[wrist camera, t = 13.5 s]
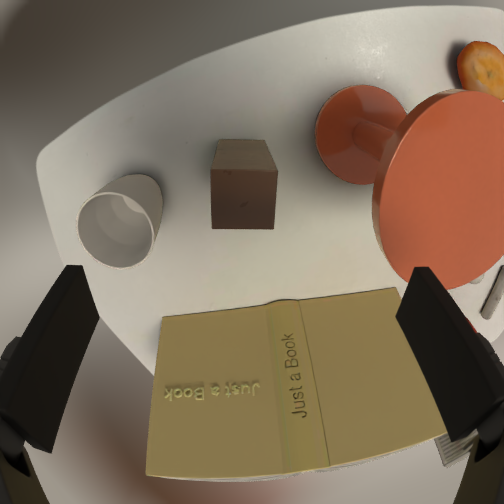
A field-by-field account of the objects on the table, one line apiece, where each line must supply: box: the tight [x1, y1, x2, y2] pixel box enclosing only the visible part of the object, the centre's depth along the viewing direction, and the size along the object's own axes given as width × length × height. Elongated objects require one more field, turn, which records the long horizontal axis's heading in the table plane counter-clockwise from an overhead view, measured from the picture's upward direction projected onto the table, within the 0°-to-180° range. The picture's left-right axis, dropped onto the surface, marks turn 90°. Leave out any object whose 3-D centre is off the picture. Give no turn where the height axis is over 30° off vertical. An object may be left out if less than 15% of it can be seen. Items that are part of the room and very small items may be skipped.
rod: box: [481, 266, 504, 319], centre depth 46 cm, size 12×3×3 cm, turn 0°
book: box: [146, 287, 448, 481], centre depth 38 cm, size 36×8×24 cm, turn 97°
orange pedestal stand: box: [315, 85, 504, 290], centre depth 24 cm, size 14×14×20 cm
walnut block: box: [211, 139, 278, 229], centre depth 29 cm, size 5×5×12 cm
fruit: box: [457, 41, 504, 101], centre depth 25 cm, size 8×8×8 cm
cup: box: [76, 174, 163, 269], centre depth 31 cm, size 8×8×10 cm
